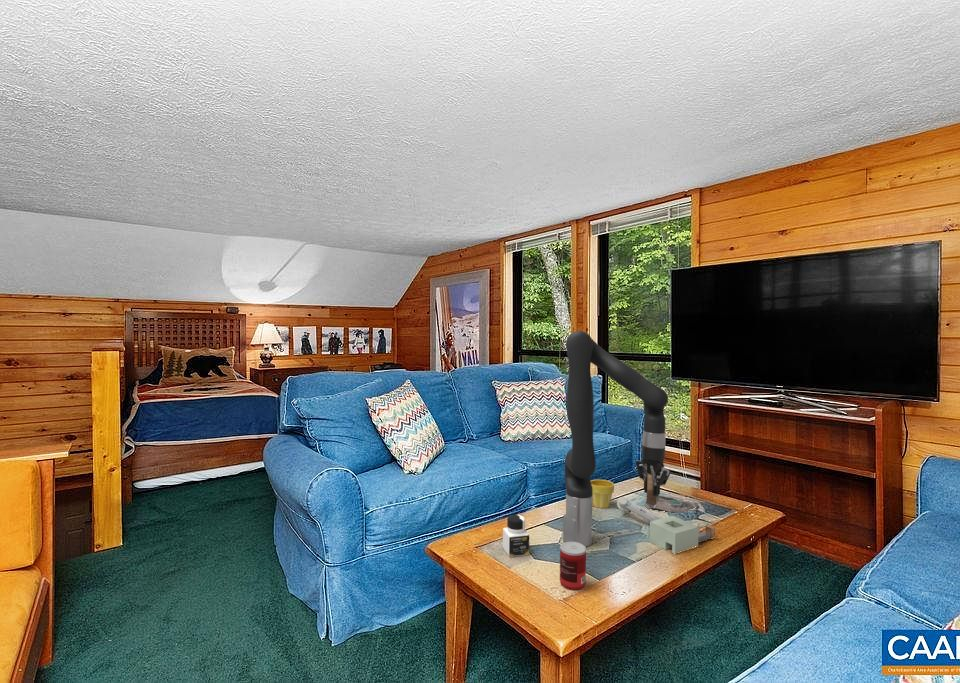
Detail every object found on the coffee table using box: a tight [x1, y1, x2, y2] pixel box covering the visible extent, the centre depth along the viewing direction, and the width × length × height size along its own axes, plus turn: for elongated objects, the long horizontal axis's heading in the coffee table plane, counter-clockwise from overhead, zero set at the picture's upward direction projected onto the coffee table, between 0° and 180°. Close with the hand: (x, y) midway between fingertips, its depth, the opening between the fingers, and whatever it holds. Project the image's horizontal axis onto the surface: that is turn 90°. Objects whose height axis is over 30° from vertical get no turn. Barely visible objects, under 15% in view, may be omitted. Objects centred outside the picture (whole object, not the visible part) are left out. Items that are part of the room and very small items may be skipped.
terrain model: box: [644, 495, 699, 514], centre depth 208 cm, size 20×15×3 cm
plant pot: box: [590, 479, 615, 509], centre depth 209 cm, size 10×10×10 cm
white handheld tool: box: [616, 496, 664, 523], centre depth 190 cm, size 5×7×25 cm
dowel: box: [645, 473, 657, 505], centre depth 167 cm, size 3×3×10 cm
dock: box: [648, 515, 700, 554], centre depth 172 cm, size 12×11×7 cm
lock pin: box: [698, 524, 716, 543], centre depth 175 cm, size 13×2×4 cm, turn 119°
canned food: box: [559, 542, 587, 591], centre depth 145 cm, size 8×8×11 cm
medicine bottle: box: [502, 514, 530, 558], centre depth 165 cm, size 7×7×12 cm
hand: (651, 493), depth 167 cm, fingers closed on dowel, 3 cm apart
